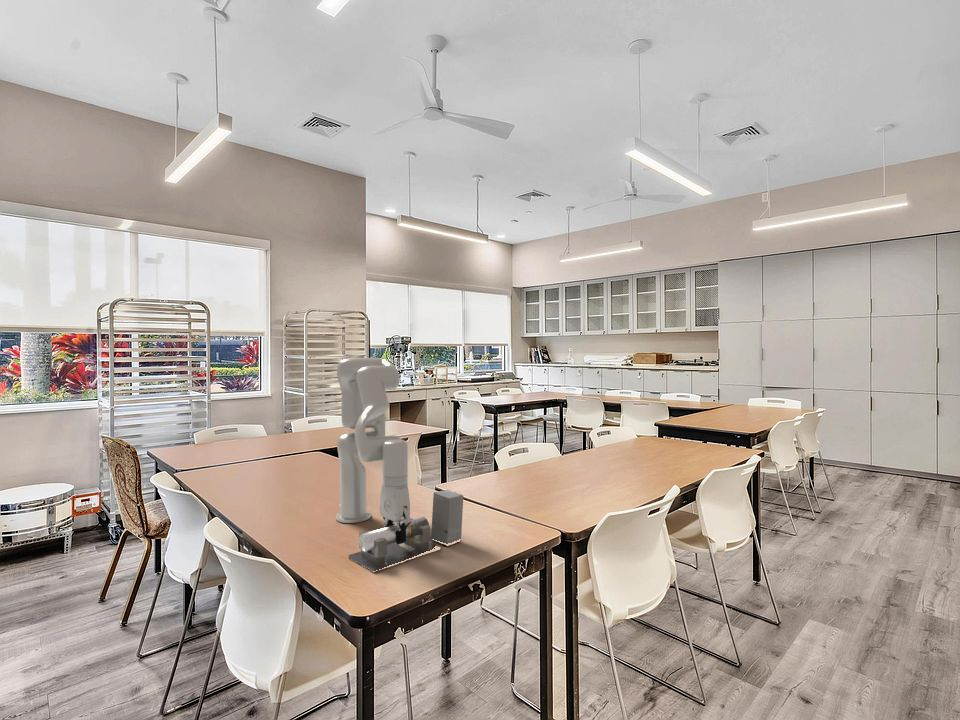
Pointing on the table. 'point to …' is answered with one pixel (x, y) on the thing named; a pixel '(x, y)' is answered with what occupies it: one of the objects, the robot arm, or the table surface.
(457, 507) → the skincare box
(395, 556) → the plate with corner blocks
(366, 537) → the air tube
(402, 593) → the table surface
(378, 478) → the table surface
